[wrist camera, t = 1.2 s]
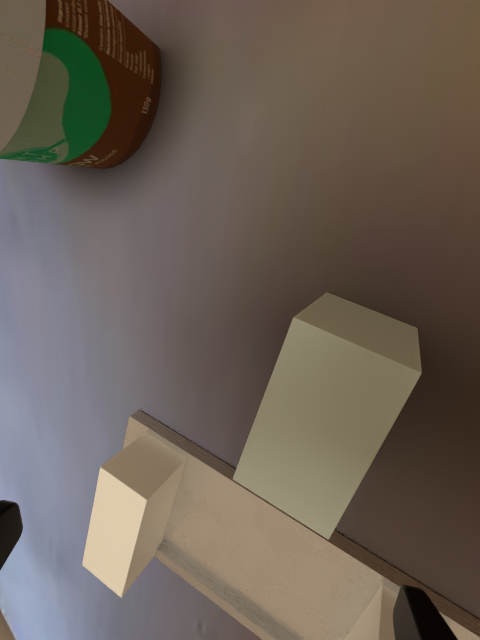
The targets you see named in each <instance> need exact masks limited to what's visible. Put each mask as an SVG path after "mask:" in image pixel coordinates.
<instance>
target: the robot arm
mask: <svg viewBox="0 0 480 640" xmlns="http://www.w3.org/2000/svg"><path fill="white" fill-rule="evenodd" d="M22 530H23V524H22V519H21V514H20V509H19V506H18V504H17V503H15V502H11V501H6V500H1V501H0V570H1V568H2V567H3V565H4V563H5V562H6V560H7V558H8V557H9V555H10V553H11V552H12V550H13V548H14V547H15V545H16V543H17V542H18V540H19V538H20V536H21V534H22ZM393 627H394V635H395V640H458V639H457V637H456V636H455V634H454V633H453V631H452V630H451V628H450V627H449V626H448V624H447V623H446V621H445V620H444V618H443V617H442V615H441V614H440V613H439V611H438V610H437V608H436V607H435V605H434V604H433V602H432V601H431V599H430V598H429V597H428V595H427V594H426V592H425V591H424V590H422V589H421V588H418V587H413V586H409V585H402V586H401V587H400V590H399V593H398V596H397V599H396V602H395V606H394V609H393Z"/></svg>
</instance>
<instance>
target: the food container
mask: <svg viewBox="0 0 480 640" xmlns="http://www.w3.org/2000/svg"><path fill="white" fill-rule="evenodd" d="M160 87H161V60H160V50H159V47H158V46H157V45H155V44H154V43H153V42H152V41H151V40H150V39H149V38H148V37H147V36H146V35H145V34H144V33H142V32H141V31H140V30H139V29H138V28H137V27H136V26H135V25H134V24H133V23H132V22H130V21H129V20H128V19H127V18H126V17H125V16H124V15H123V14H122V13H121V12H120V11H119V10H117V9H116V8H115V7H114V6H113V5H112V4H111V3H110V2H109V1H108V0H0V159H10V160H20V161H30V162H41V163H51V164H61V165H71V166H81V167H92V168H102V169H105V168H110V167H114V166H116V165H119V164H121V163H123V162H124V161H125V160H127V159H128V158H130V157H131V156H132V155H133V154H134V153H135V151H136V150H137V149H138V148H139V147H140V145H141V144H142V142H143V141H144V139H145V138H146V136H147V134H148V132H149V130H150V128H151V125H152V123H153V120H154V117H155V114H156V110H157V106H158V101H159V96H160Z"/></svg>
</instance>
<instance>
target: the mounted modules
mask: <svg viewBox="0 0 480 640" xmlns="http://www.w3.org/2000/svg"><path fill="white" fill-rule="evenodd" d="M186 460H187V459H186V458H184V457H183V456H181V455H180V454H178V453H176V452H175V451H173V450H172V449H170V448H169V447H167V446H166V445H164V444H162V443H161V442H159V441H158V440H156V439H155V438H153V437H151V436H150V435H148V434H147V433H144V434H143V435H141V436H140V437H139V438H137V439H136V440H135V441H134V442H132V443H131V444H130V445H128V446H127V447H126V448H124V449H123V450H122V451H121V452H119V453H118V454H117V455H115V456H114V457H113V458H111V459H110V460H109V461H108V462H106V463H105V464H104V465H102V466H101V467H100V472H99V478H98V483H97V488H96V494H95V499H94V504H93V510H92V515H91V520H90V526H89V531H88V537H87V542H86V547H85V553H84V558H83V563H82V565H83V566H84V567H86V568H87V569H88V570H89V571H90V572H91V573H93V574H94V575H95V576H96V577H97V578H99V579H100V580H101V581H102V582H103V583H104V584H106V585H107V586H108V587H109V588H110V589H111V590H113V591H114V592H115V593H116V594H117V595H118V596H120V597H121V598H122V596H123V595H124V594H125V592H126V591H127V590H128V589H129V587H130V586H131V585H132V583H133V582H134V581H135V580H136V578H137V577H138V576H139V574H140V573H141V572H142V571H143V569H144V568H145V567H146V566H147V564H148V563H149V562H150V560H151V559H152V558H153V557H154V555H155V552H156V549H157V548H158V546H159V545H160V544H161V542H162V539H163V536H164V532H165V529H166V526H167V523H168V519H169V516H170V513H171V509H172V506H173V503H174V499H175V496H176V493H177V490H178V486H179V483H180V480H181V476H182V473H183V470H184V466H185V463H186ZM397 596H398V594H397V593H396V592H394V591H392V590H391V589H389V588H388V587H386V586H385V585H383V584H382V586H381V587H380V589H379V590H378V591H377V593H376V594H375V596H374V597H373V599H372V600H371V602H370V603H369V604H368V606H367V607H366V609H365V610H364V612H363V613H362V615H361V616H360V618H359V619H358V620H357V622H356V623H355V625H354V626H353V628H352V629H351V631H350V632H349V633H348V635H347V636H346V638H345V639H344V640H395V635H394V627H393V609H394V606H395V602H396V599H397Z"/></svg>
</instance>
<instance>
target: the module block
mask: <svg viewBox="0 0 480 640" xmlns="http://www.w3.org/2000/svg"><path fill="white" fill-rule="evenodd" d="M421 374H422V369H421V359H420V349H419V339H418V329H417V328H416V327H413V326H411V325H408V324H406V323H403V322H401V321H398V320H396V319H393V318H391V317H388V316H386V315H383V314H381V313H378V312H376V311H373V310H371V309H368V308H366V307H363V306H361V305H358V304H356V303H353V302H351V301H348V300H346V299H343V298H341V297H338V296H335V295H333V294H330V293H328V292H326V293H325V294H324V295H322V296H321V297H320V298H318V299H317V300H316V301H314V302H313V303H312V304H310V305H309V306H308V307H306V308H305V309H304V310H302V311H301V312H300V313H298V314H297V315H296V316H294V317H293V320H292V322H291V325H290V328H289V330H288V333H287V336H286V338H285V341H284V344H283V346H282V349H281V352H280V354H279V357H278V360H277V362H276V365H275V368H274V370H273V373H272V375H271V378H270V381H269V383H268V386H267V389H266V391H265V394H264V397H263V399H262V402H261V405H260V407H259V410H258V413H257V415H256V418H255V421H254V423H253V426H252V429H251V431H250V434H249V437H248V439H247V442H246V445H245V447H244V450H243V453H242V455H241V458H240V460H239V463H238V466H237V468H236V471H235V474H234V476H233V480H235V481H236V482H238V483H239V484H241V485H243V486H244V487H246V488H247V489H249V490H250V491H252V492H254V493H255V494H257V495H258V496H260V497H262V498H263V499H265V500H266V501H268V502H269V503H271V504H273V505H274V506H276V507H277V508H279V509H281V510H282V511H284V512H285V513H287V514H288V515H290V516H292V517H293V518H295V519H296V520H298V521H300V522H301V523H303V524H304V525H306V526H307V527H309V528H311V529H312V530H314V531H315V532H317V533H319V534H320V535H322V536H323V537H325V538H326V539H328V540H329V538H330V536H331V534H332V533H333V531H334V529H335V527H336V526H337V524H338V522H339V520H340V518H341V517H342V515H343V513H344V511H345V509H346V508H347V506H348V504H349V502H350V501H351V499H352V497H353V495H354V493H355V492H356V490H357V488H358V486H359V484H360V483H361V481H362V479H363V477H364V476H365V474H366V472H367V470H368V468H369V467H370V465H371V463H372V461H373V459H374V458H375V456H376V454H377V452H378V451H379V449H380V447H381V445H382V443H383V442H384V440H385V438H386V436H387V434H388V433H389V431H390V429H391V427H392V426H393V424H394V422H395V420H396V418H397V417H398V415H399V413H400V411H401V409H402V408H403V406H404V404H405V402H406V401H407V399H408V397H409V395H410V393H411V392H412V390H413V388H414V386H415V384H416V383H417V381H418V379H419V377H420V376H421Z"/></svg>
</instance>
